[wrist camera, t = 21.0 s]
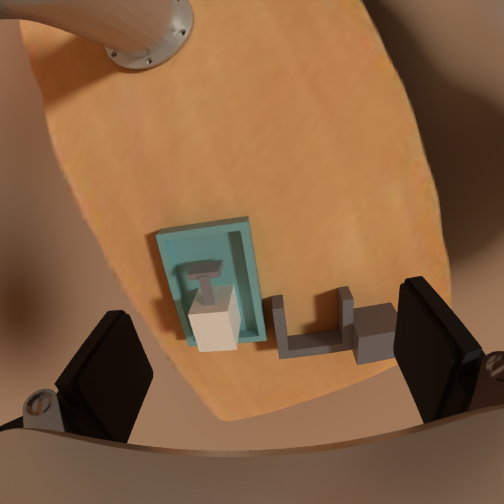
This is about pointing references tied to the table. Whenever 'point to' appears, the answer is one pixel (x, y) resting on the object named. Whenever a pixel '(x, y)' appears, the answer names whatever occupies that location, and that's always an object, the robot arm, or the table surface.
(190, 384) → the table surface
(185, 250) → the tray
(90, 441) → the robot arm
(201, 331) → the t-handle cube
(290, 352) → the bay
